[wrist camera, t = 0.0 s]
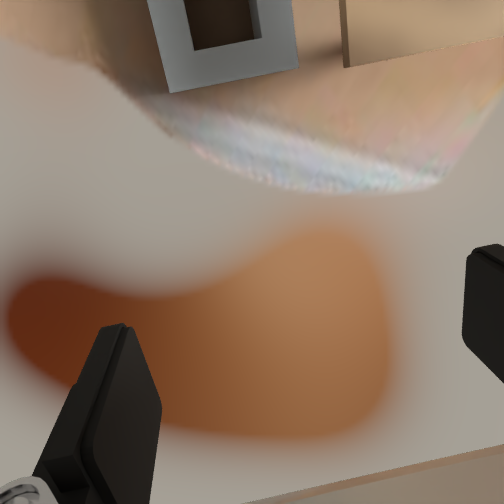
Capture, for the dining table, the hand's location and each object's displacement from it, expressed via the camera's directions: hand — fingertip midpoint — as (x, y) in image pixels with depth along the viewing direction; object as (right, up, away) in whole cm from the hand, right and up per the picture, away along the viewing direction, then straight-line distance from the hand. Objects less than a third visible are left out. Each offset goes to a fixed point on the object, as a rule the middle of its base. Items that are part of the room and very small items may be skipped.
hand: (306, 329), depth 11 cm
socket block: (-4, +23, +23) cm, 33 cm away
